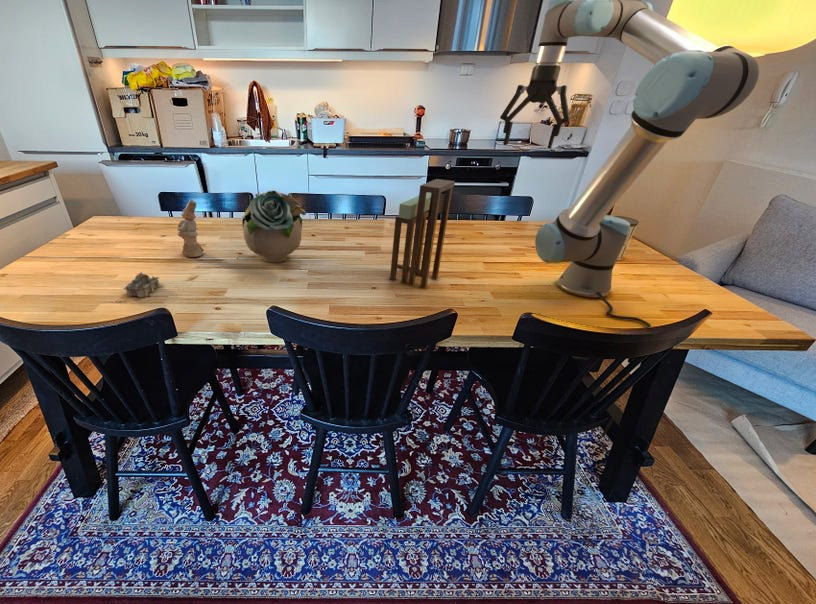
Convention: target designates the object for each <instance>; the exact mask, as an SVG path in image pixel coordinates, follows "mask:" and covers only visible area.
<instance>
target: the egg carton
mask: <svg viewBox="0 0 816 604" xmlns="http://www.w3.org/2000/svg"><path fill="white" fill-rule="evenodd" d="M160 287H161V284H160V281H159V277H158V276H153V275H152V276H151V277H150V276H149V275H148V274H146V273H143V272H142V271H141V272H140V273H138V274H136V276H135V278H134V279H132V280H131V281H130V282H129V283H128V284H126V286H125V287H123V288H122V290H125V291H126V294H127V297H130V298H132V297H135V296H136V297H137V298H143V297H145V298H146V297H149V293H153V292H155V289H159V288H160Z"/></svg>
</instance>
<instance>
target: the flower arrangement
mask: <svg viewBox="0 0 816 604" xmlns="http://www.w3.org/2000/svg"><path fill="white" fill-rule="evenodd" d="M254 196H255V197H252V198H251V201H250V202H249V205H248V207H247V208H246V209H245V210H244V211H245V213H244V214H243V215H242V216H241V218H242V219H241V221H242V229H243V230H242V233H243V239H244V240H243V241H244V242H245V244H246V246H247V248H248V249H249V250H250V251H251V252H253V253H254V254H256V255H257V256H260V257H262V258H263V259H264V261H265V262H268V263H281V262H284V261H285V260H286V259H287V257H288V255H291V254H292V253H294V252H295V251H296V250H297V249H298V248H299V247H300V244H301V241H302V229H303V228H302V227H303V218H302V217H301V216H306V215H307V213H306V211H305V209H304V208H305V207H304V205H302V204H301V203H300V202H298V200H297V199H295V198H294V196H293V194H292V193H291V192H289V193H287V194H286V193H283V192H280V191H277V190H274V189H272V190H268V191H266V192H262V193H260V194H259V193H258V192H256V194H254ZM300 215H301V216H300Z"/></svg>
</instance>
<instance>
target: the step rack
mask: <svg viewBox="0 0 816 604" xmlns="http://www.w3.org/2000/svg"><path fill="white" fill-rule="evenodd" d="M455 183H456V181H455V180H448V179H447V180H446V179H440V178H436V179H433V180H430V181H428V182H426V183H425V182H424V183H423V184H421V185H419V193H418V196H419V200H418V209H417V216H416V217H413V218H412V219H405V218H400V217H399V214H398V215H397V216H395V220H394V231H393V240H392V252H391V263H390V275H389V280H390V281H395V280H396V279H397V274H398V273H397V271H398V269H399V270H401V271H402V273H401V284H405V285H406V284H407V283H408V285H409V286H414V285H415V284H416V276H417V275H419V276H421V281H420V287H419V288H421V289H426V288H427V287H428V281H429V273H430V269H431V268H430V267H431V261H432V254H433V248H434V241H435V235H436V227H437V221H438V215H439V207H440V201H441V195H442V193H444V196H443V203H442V210H441V217H440V223H439V230H438V234H437V243H436V248H435V255H434V262H433V268H432V272H431V273H432V274H431V279H432V280H437V279H438V277H439V271H440V267H441V260H442V254H443V248H444V242H445V235H446V230H447V224H448V218H449V212H450V205H451V199H452V194H453V188H454V187H455ZM427 192H429V193H431V199H430V206H429V210H427V211H425V212H424V208H425V200H426V193H427ZM402 224H406V231H405V232H406V233H405V242H404V251H403V259H402V264H399V263H398V262H399V253H400V245H401V233H402Z"/></svg>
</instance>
